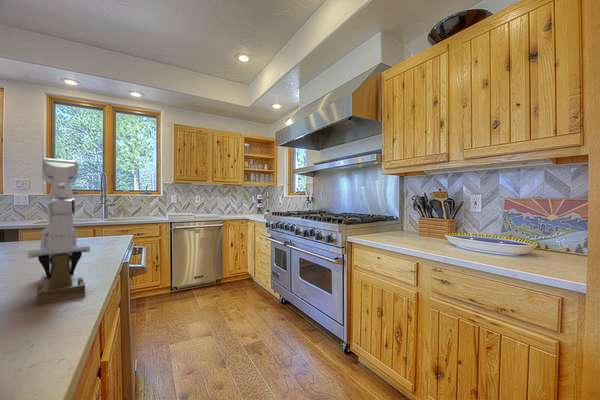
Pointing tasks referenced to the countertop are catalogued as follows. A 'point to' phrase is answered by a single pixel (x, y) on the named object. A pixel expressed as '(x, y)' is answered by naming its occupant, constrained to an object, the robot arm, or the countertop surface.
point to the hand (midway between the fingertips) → (60, 276)
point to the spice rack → (60, 293)
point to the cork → (60, 272)
